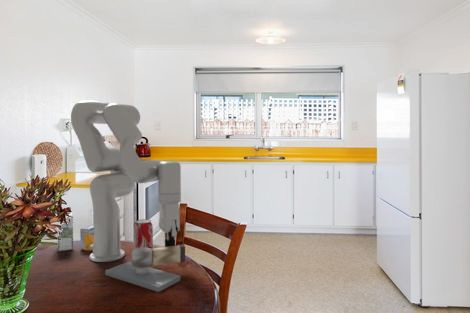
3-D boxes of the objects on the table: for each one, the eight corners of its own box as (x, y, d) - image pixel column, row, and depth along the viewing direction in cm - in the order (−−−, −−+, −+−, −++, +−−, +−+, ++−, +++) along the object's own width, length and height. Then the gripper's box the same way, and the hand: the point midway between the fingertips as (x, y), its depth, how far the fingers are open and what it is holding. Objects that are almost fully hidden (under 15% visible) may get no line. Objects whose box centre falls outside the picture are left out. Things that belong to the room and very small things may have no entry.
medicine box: (89, 250, 141) (89, 229, 141) (80, 249, 143) (79, 228, 142) (101, 244, 149) (101, 224, 148) (92, 243, 150) (92, 223, 150)
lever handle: (133, 270, 110) (132, 254, 110) (131, 263, 116) (130, 248, 116) (186, 263, 117) (186, 248, 117) (182, 257, 123) (182, 242, 122)
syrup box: (73, 245, 147) (72, 211, 146) (73, 250, 142) (72, 214, 141) (58, 247, 145) (57, 212, 144) (57, 252, 139) (56, 216, 139)
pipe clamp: (118, 247, 145) (118, 232, 145) (114, 251, 141) (114, 235, 140) (89, 246, 146) (89, 231, 145) (84, 250, 141) (84, 234, 141)
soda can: (148, 253, 138) (147, 223, 137) (131, 252, 140) (131, 222, 139) (155, 248, 145) (155, 219, 144) (139, 246, 146) (139, 218, 146)
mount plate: (105, 274, 117) (105, 262, 117) (128, 265, 125) (128, 253, 125) (158, 292, 104) (158, 277, 104) (180, 280, 113) (180, 267, 113)
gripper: (153, 195, 125) (153, 245, 126) (164, 202, 111) (165, 258, 113) (173, 193, 128) (174, 242, 129) (187, 200, 115) (187, 255, 116)
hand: (170, 250), depth 121 cm, fingers closed
